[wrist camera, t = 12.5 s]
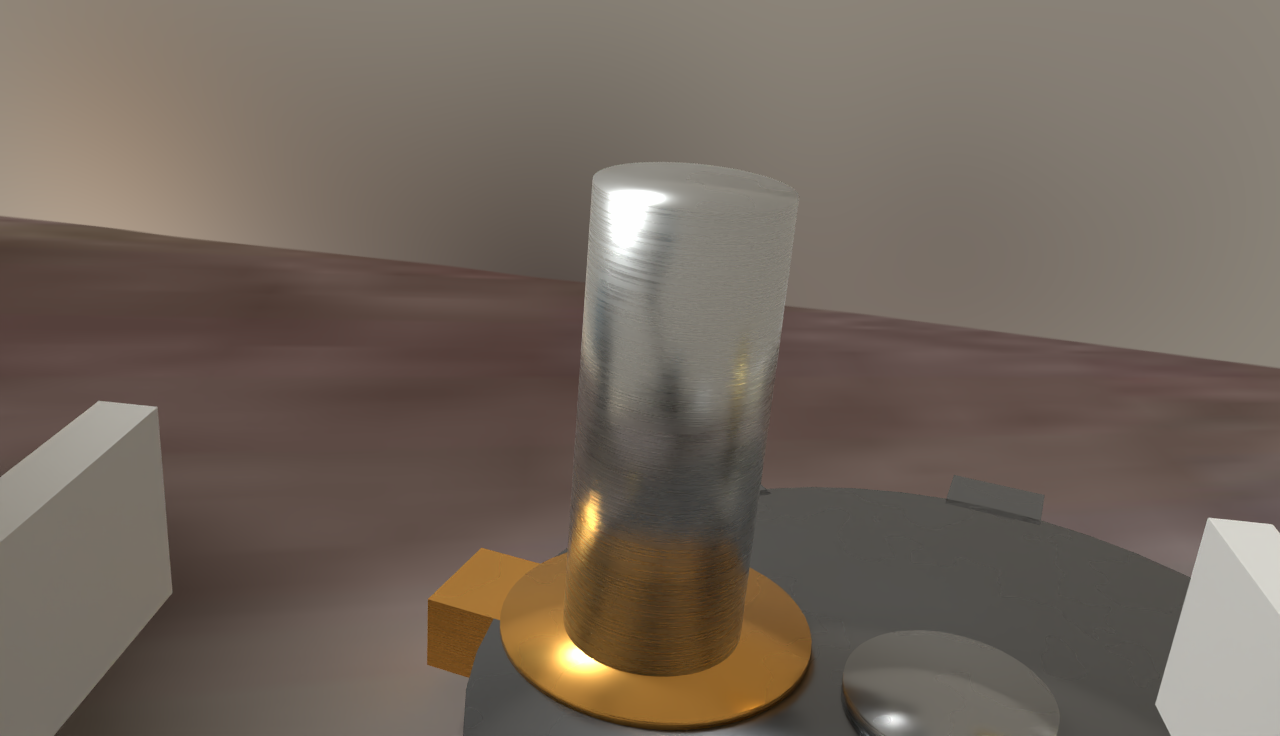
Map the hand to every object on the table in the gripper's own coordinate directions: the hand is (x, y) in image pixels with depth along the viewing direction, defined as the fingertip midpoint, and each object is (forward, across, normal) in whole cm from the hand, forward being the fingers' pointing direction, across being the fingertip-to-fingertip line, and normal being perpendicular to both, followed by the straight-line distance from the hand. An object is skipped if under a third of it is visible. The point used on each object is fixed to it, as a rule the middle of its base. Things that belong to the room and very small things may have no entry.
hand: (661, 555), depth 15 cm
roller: (+10, 0, -8) cm, 12 cm away
